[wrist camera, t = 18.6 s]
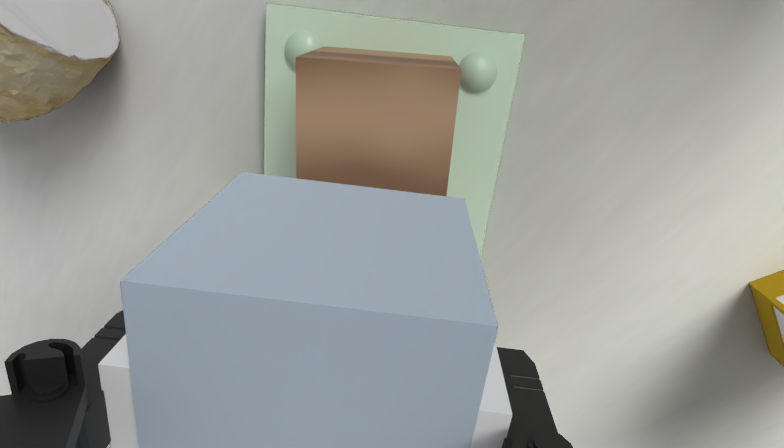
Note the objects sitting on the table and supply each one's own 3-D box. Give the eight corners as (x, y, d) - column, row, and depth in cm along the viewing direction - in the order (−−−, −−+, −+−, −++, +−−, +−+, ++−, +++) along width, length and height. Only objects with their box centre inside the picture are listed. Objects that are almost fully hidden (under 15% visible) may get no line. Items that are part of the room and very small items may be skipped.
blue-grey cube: (242, 171, 16) (119, 281, 9) (464, 198, 16) (498, 326, 9) (242, 354, 18) (148, 538, 12) (432, 377, 18) (441, 573, 12)
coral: (135, 43, 27) (-36, 151, 25) (153, 57, 36) (28, 137, 34) (-12, -147, 23) (-224, -32, 21) (50, -76, 32) (-95, 7, 31)
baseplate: (271, 3, 32) (264, 3, 30) (521, 34, 32) (526, 35, 30) (267, 232, 38) (262, 240, 37) (476, 257, 38) (478, 267, 37)
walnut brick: (324, 46, 32) (295, 56, 24) (451, 56, 31) (461, 69, 24) (321, 221, 36) (296, 275, 29) (432, 231, 36) (435, 287, 29)
